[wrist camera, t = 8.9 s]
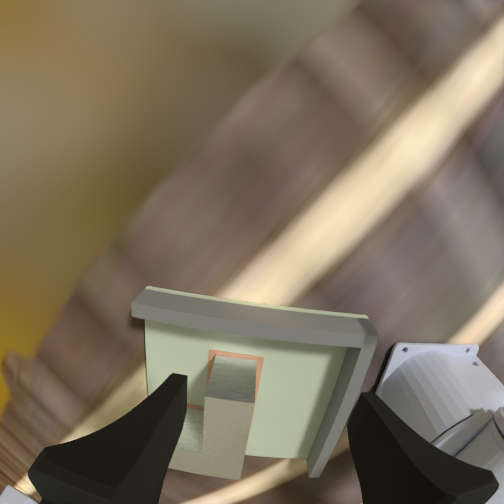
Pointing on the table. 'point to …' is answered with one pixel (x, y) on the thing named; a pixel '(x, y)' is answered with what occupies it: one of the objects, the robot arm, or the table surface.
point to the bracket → (219, 421)
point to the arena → (264, 364)
